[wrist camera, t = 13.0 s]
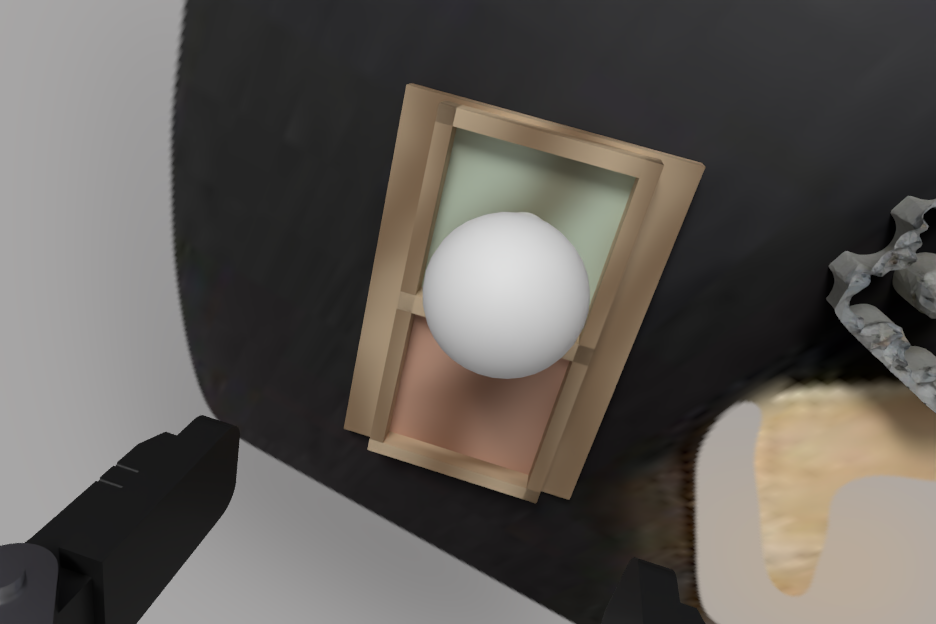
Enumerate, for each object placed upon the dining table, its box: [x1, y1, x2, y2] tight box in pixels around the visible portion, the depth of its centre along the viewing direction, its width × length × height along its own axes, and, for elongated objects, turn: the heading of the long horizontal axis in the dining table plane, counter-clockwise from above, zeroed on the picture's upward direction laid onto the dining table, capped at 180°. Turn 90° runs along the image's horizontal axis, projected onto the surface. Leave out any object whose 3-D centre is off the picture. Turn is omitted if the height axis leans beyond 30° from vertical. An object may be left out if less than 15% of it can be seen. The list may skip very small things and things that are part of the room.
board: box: [344, 83, 705, 503], centre depth 32 cm, size 14×20×2 cm
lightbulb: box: [423, 212, 590, 379], centre depth 25 cm, size 6×6×11 cm
